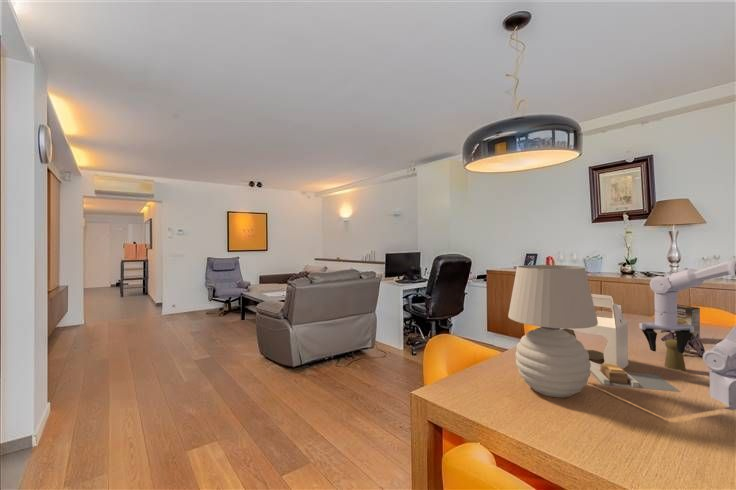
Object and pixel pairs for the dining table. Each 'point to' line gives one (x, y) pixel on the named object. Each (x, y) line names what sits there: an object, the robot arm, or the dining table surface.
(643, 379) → the board
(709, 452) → the dining table surface
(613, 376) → the wooden box
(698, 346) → the decorative flower
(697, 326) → the food box
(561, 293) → the table lamp
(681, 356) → the cork
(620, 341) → the gable box
